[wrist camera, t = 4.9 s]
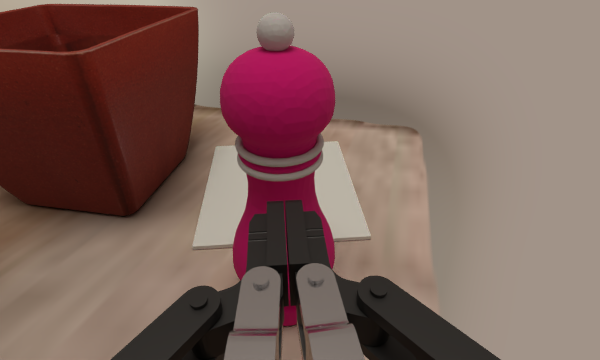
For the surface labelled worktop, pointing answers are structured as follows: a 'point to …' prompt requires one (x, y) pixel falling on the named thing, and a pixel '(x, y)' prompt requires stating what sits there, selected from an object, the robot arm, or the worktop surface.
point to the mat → (234, 191)
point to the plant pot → (95, 102)
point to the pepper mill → (277, 128)
